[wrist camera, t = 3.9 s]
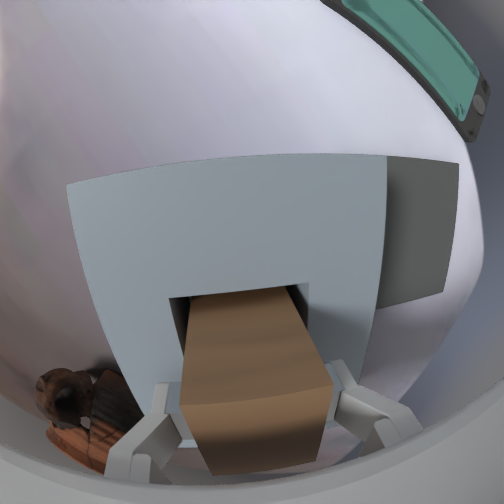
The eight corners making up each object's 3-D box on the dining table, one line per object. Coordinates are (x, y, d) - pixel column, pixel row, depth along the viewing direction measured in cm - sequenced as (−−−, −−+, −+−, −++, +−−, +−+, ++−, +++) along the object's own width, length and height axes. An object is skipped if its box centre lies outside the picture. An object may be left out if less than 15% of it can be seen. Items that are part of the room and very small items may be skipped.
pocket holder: (112, 174, 13) (65, 185, 8) (335, 153, 14) (386, 155, 9) (169, 394, 18) (164, 447, 13) (323, 375, 19) (346, 423, 15)
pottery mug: (186, 418, 20) (155, 493, 14) (115, 390, 23) (85, 450, 17) (101, 344, 13) (40, 457, 7) (38, 318, 16) (-8, 392, 10)
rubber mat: (335, 153, 14) (339, 153, 13) (453, 162, 15) (458, 163, 14) (331, 313, 17) (334, 318, 17) (438, 288, 18) (442, 291, 18)
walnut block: (196, 268, 14) (179, 405, 6) (271, 259, 15) (334, 384, 6) (209, 342, 16) (212, 475, 8) (273, 334, 16) (315, 460, 8)
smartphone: (475, 146, 14) (320, -10, 9) (463, 145, 15) (313, 0, 10) (493, 87, 12) (363, -48, 8) (483, 88, 13) (356, -41, 9)
